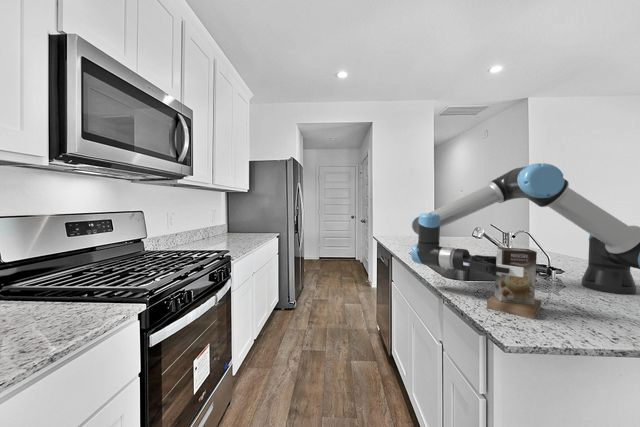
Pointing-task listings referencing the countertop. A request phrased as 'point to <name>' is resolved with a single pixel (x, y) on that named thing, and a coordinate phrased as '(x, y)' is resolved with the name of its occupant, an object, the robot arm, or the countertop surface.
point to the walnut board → (514, 307)
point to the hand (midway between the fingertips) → (528, 268)
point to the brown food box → (516, 286)
